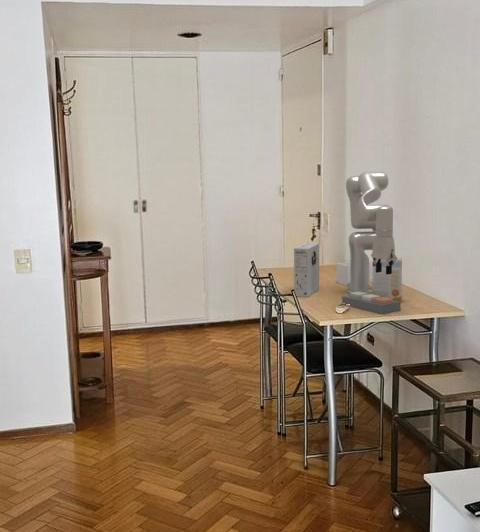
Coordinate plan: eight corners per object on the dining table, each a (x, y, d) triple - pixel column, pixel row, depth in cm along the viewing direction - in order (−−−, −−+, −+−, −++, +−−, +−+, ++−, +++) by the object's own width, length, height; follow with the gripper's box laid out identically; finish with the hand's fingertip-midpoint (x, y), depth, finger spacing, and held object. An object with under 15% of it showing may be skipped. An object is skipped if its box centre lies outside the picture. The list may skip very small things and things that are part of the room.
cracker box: (401, 300, 340) (402, 257, 336) (401, 302, 334) (402, 259, 330) (372, 299, 343) (372, 257, 339) (371, 301, 337) (372, 259, 334)
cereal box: (305, 288, 373) (305, 242, 369) (319, 289, 370) (319, 242, 366) (294, 296, 353) (293, 247, 349) (308, 297, 350) (308, 248, 346)
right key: (373, 303, 319) (373, 298, 319) (383, 302, 323) (383, 296, 322) (383, 306, 314) (383, 300, 314) (392, 304, 318) (392, 298, 317)
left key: (349, 298, 332) (349, 293, 332) (358, 296, 336) (358, 291, 335) (358, 300, 327) (358, 295, 327) (367, 298, 331) (367, 293, 330)
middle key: (361, 300, 326) (361, 295, 325) (370, 299, 329) (370, 294, 329) (370, 303, 321) (370, 297, 320) (379, 301, 324) (380, 296, 324)
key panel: (342, 304, 333) (342, 296, 332) (360, 301, 339) (360, 293, 339) (381, 314, 311) (381, 305, 311) (400, 310, 318) (400, 301, 318)
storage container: (375, 279, 397) (375, 260, 395) (386, 282, 387) (386, 262, 385) (336, 282, 388) (336, 263, 386) (346, 286, 378) (346, 266, 376)
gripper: (364, 232, 318) (364, 271, 321) (392, 236, 304) (391, 276, 307) (376, 231, 322) (375, 269, 325) (404, 234, 308) (403, 274, 311)
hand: (383, 272), depth 316 cm, fingers open, 5 cm apart
